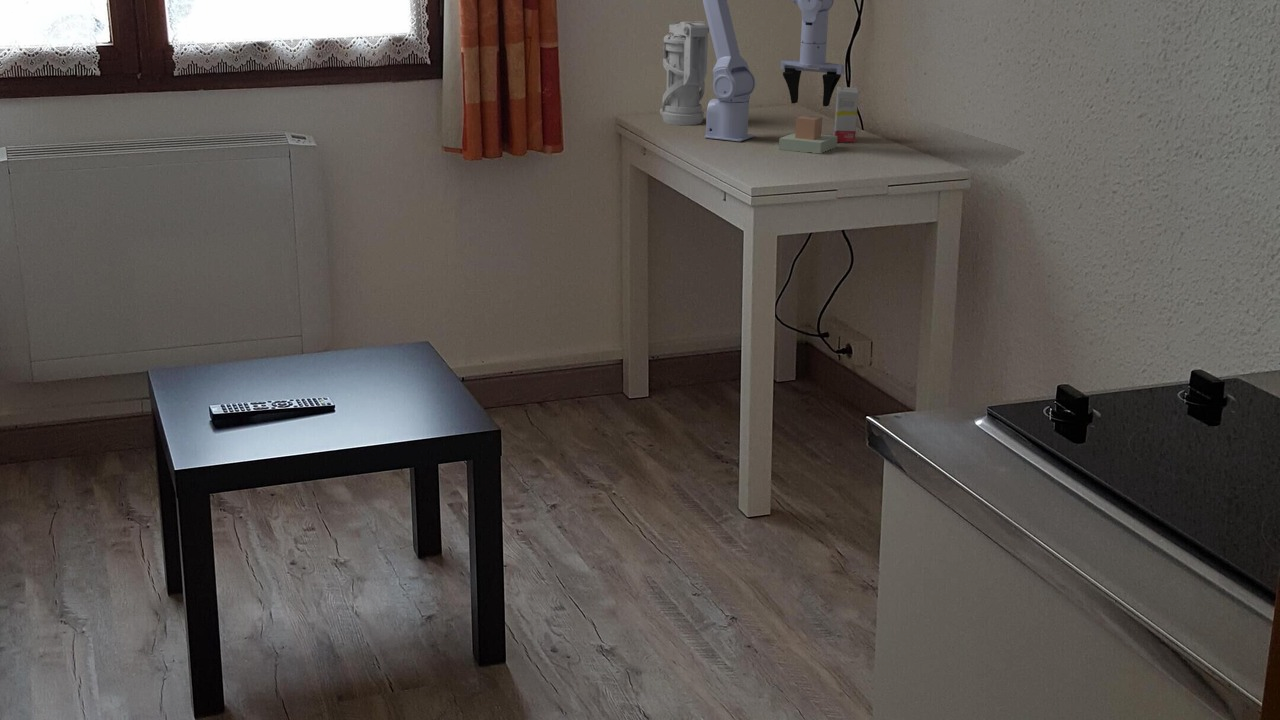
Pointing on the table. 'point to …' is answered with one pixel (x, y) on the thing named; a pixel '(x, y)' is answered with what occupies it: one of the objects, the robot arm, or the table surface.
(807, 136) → the terracotta cube
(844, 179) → the table surface
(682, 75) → the lantern
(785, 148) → the sage slab
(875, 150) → the table surface
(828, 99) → the robot arm
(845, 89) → the ink box
